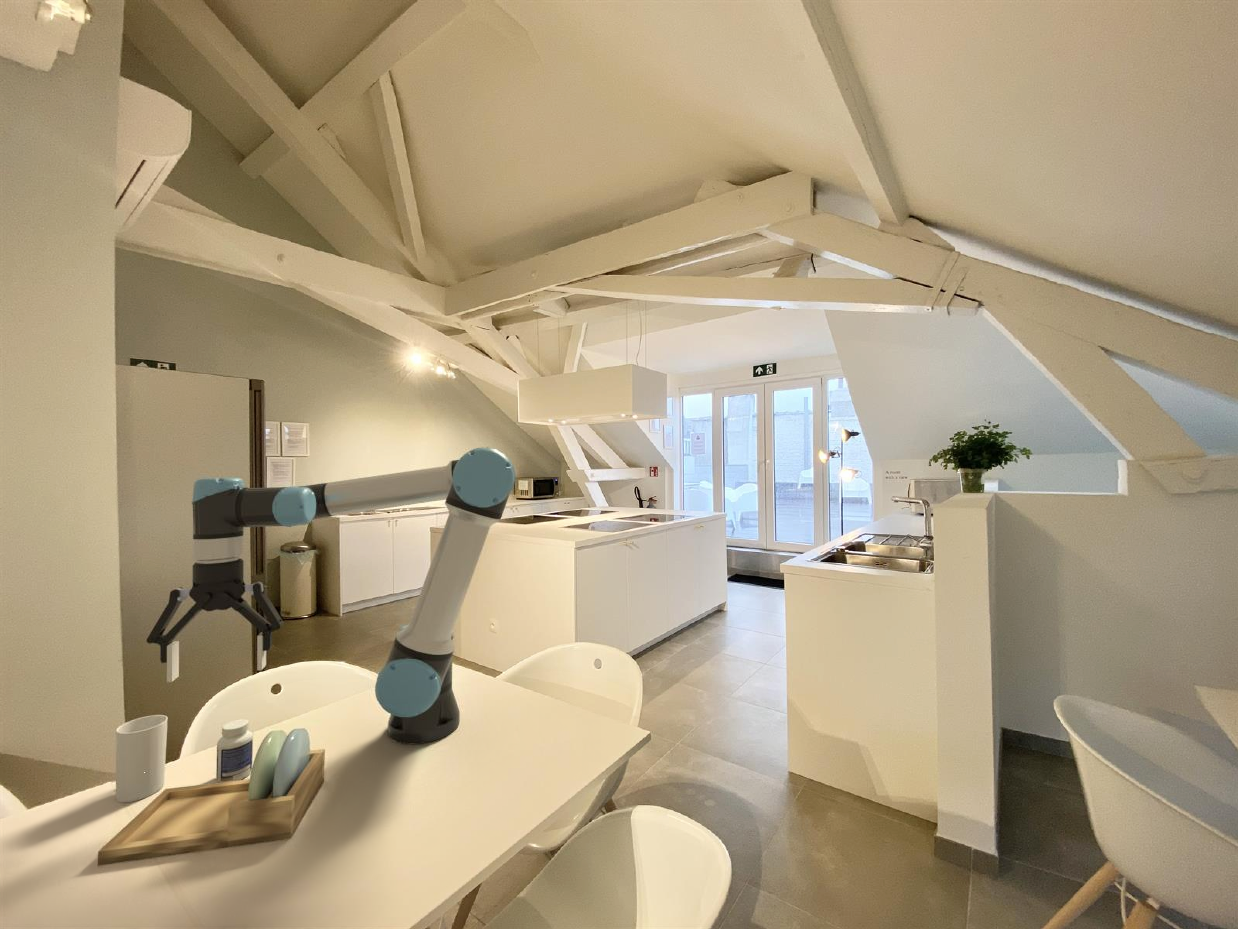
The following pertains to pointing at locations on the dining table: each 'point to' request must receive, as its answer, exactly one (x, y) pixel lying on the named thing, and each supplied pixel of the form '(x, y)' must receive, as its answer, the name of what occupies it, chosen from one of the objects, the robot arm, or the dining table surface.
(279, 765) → the plate blue
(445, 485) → the robot arm
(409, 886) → the dining table surface
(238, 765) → the pill bottle
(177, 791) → the dish rack
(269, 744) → the plate sage
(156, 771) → the mug
